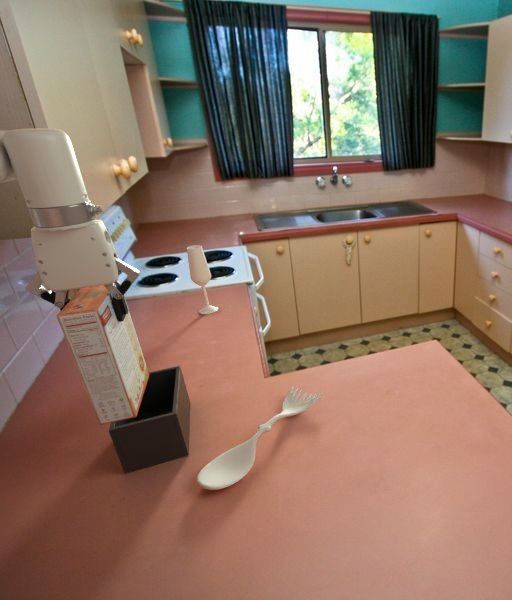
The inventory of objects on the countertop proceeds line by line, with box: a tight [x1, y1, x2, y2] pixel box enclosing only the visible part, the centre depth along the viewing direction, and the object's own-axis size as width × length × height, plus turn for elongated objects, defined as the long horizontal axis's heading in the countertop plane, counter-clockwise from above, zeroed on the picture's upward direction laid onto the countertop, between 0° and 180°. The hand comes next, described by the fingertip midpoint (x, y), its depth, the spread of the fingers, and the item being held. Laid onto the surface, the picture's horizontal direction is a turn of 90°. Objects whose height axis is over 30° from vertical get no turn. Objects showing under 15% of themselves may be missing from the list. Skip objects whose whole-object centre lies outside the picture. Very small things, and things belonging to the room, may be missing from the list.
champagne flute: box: [186, 244, 219, 315], centre depth 151 cm, size 7×7×24 cm
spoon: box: [196, 384, 323, 491], centre depth 91 cm, size 9×32×4 cm, turn 155°
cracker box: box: [56, 279, 150, 425], centre depth 74 cm, size 14×6×21 cm, turn 20°
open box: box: [108, 365, 191, 474], centre depth 92 cm, size 12×20×11 cm, turn 24°
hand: (99, 321), depth 72 cm, fingers closed on cracker box, 6 cm apart
